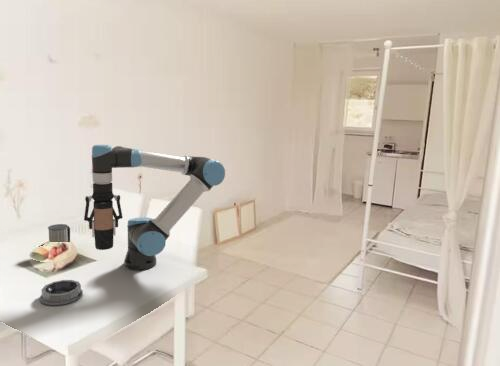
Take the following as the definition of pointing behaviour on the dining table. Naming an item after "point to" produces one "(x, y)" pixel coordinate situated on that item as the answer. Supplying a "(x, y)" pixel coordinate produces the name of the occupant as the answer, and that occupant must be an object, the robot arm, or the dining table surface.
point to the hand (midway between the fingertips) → (104, 235)
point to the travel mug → (103, 225)
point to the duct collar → (61, 293)
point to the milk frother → (59, 233)
